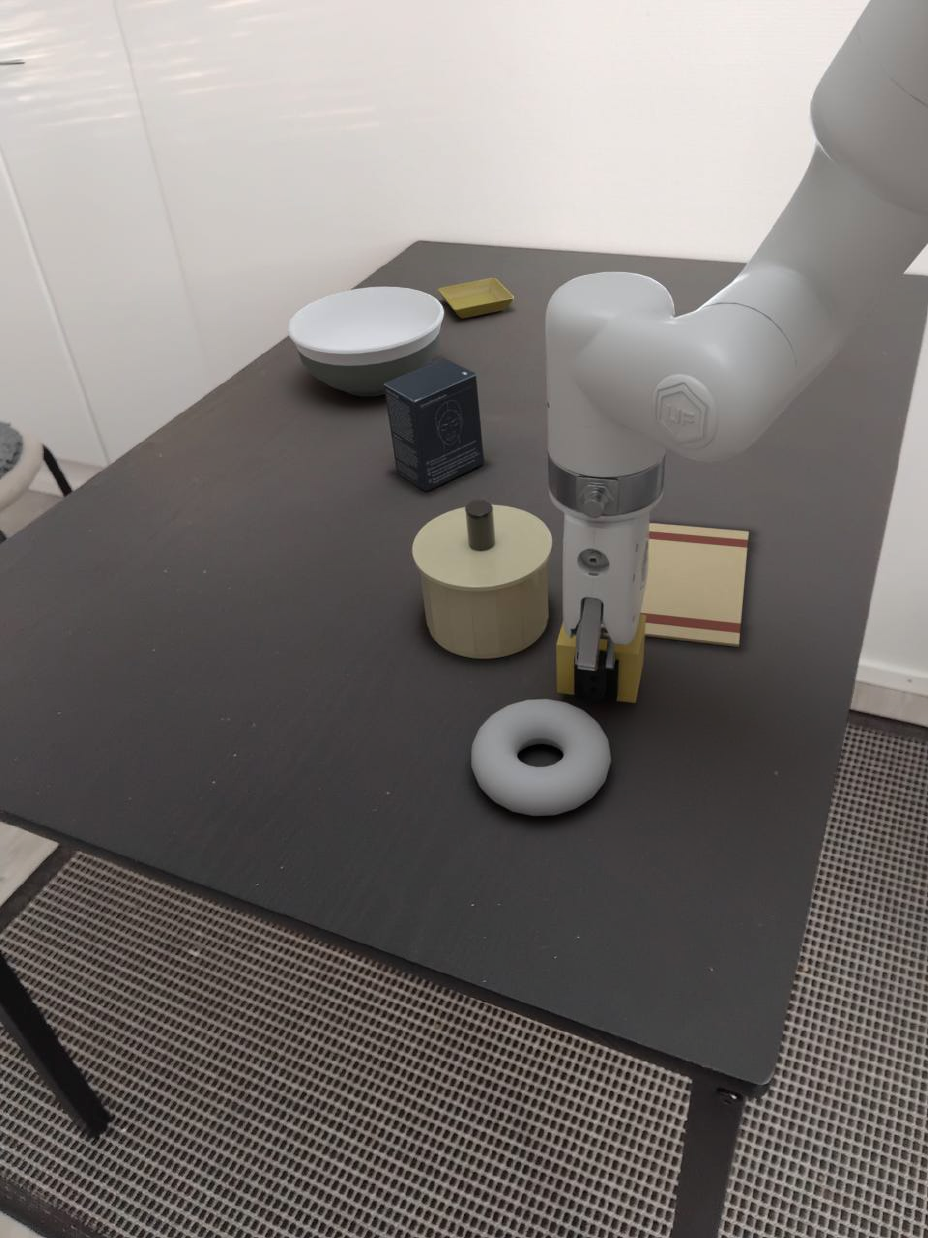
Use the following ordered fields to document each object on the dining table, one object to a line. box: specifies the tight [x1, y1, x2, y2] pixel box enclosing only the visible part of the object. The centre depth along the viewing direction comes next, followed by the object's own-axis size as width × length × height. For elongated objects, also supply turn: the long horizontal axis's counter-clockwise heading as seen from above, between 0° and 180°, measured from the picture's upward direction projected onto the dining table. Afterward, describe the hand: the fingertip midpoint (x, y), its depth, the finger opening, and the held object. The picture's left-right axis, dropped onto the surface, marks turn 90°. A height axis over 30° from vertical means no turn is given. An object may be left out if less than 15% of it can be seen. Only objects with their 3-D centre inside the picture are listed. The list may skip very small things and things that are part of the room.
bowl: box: [287, 286, 445, 398], centre depth 119 cm, size 19×19×8 cm
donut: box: [470, 698, 612, 817], centre depth 70 cm, size 10×4×10 cm
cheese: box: [555, 614, 646, 704], centre depth 74 cm, size 6×4×5 cm
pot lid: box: [411, 499, 553, 592], centre depth 79 cm, size 11×11×5 cm
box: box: [384, 357, 485, 492], centre depth 100 cm, size 8×6×11 cm
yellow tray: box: [437, 277, 515, 319], centre depth 135 cm, size 9×9×2 cm
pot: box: [419, 562, 550, 660], centre depth 82 cm, size 10×10×7 cm
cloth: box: [640, 522, 750, 648], centre depth 86 cm, size 10×16×1 cm, turn 165°
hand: (601, 672), depth 75 cm, fingers closed on cheese, 4 cm apart
